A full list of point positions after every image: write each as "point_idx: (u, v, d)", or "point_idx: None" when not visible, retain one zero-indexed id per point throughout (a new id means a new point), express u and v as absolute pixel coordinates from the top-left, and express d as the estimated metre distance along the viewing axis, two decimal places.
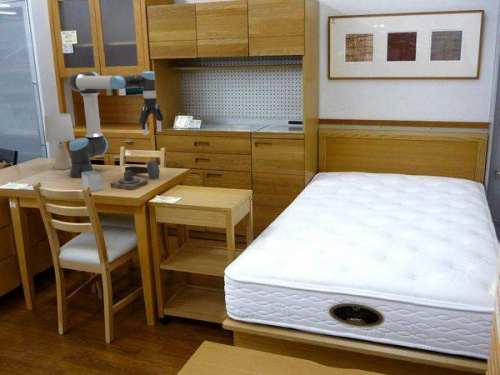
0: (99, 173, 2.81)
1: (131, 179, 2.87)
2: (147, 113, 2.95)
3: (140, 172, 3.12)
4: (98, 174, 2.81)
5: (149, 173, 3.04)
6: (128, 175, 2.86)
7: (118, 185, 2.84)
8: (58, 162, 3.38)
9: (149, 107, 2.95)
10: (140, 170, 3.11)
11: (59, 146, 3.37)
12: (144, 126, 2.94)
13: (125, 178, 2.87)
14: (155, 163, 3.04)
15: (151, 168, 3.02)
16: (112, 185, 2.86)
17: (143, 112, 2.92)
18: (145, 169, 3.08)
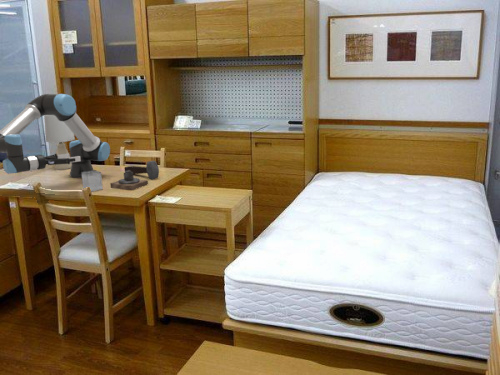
0: (99, 173, 2.81)
1: (131, 179, 2.87)
2: None
3: (140, 172, 3.12)
4: (98, 174, 2.81)
5: (148, 173, 3.04)
6: (128, 175, 2.86)
7: (118, 185, 2.84)
8: None
9: None
10: (140, 170, 3.11)
11: (59, 146, 3.37)
12: None
13: (125, 178, 2.87)
14: (154, 163, 3.04)
15: (151, 168, 3.02)
16: (112, 185, 2.86)
17: None
18: (145, 169, 3.08)
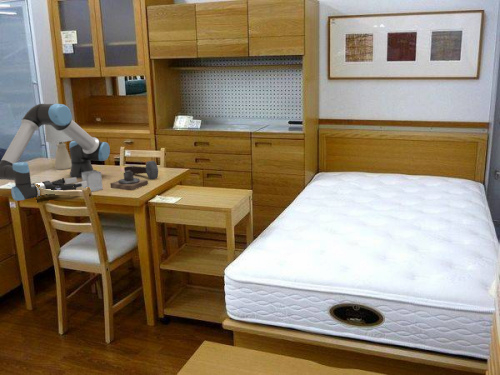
0: (99, 173, 2.81)
1: (131, 179, 2.87)
2: None
3: (139, 172, 3.12)
4: (98, 174, 2.81)
5: (148, 173, 3.04)
6: (128, 175, 2.86)
7: (118, 185, 2.84)
8: (58, 162, 3.38)
9: None
10: (139, 170, 3.11)
11: (59, 146, 3.37)
12: None
13: (125, 178, 2.87)
14: (154, 163, 3.04)
15: (150, 168, 3.02)
16: (112, 185, 2.86)
17: None
18: (144, 169, 3.08)
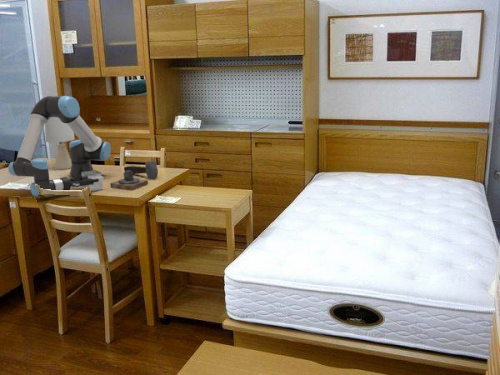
0: (99, 173, 2.81)
1: (131, 179, 2.87)
2: None
3: (139, 172, 3.12)
4: (98, 174, 2.81)
5: (147, 173, 3.04)
6: (128, 175, 2.86)
7: (118, 185, 2.84)
8: (58, 162, 3.38)
9: None
10: (139, 170, 3.12)
11: (59, 146, 3.37)
12: None
13: (125, 178, 2.87)
14: (153, 163, 3.04)
15: (150, 168, 3.02)
16: (112, 185, 2.86)
17: None
18: (144, 169, 3.08)
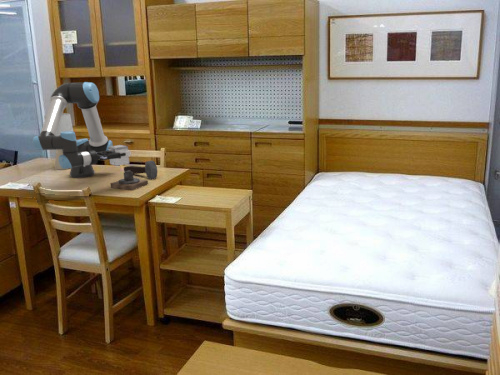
0: (126, 147, 2.81)
1: (131, 179, 2.87)
2: None
3: (138, 172, 3.12)
4: (125, 148, 2.80)
5: (147, 173, 3.05)
6: (128, 175, 2.86)
7: (118, 185, 2.84)
8: (58, 162, 3.38)
9: None
10: (138, 170, 3.12)
11: None
12: None
13: (125, 178, 2.87)
14: (153, 163, 3.04)
15: (149, 168, 3.02)
16: (112, 185, 2.86)
17: None
18: (143, 169, 3.08)
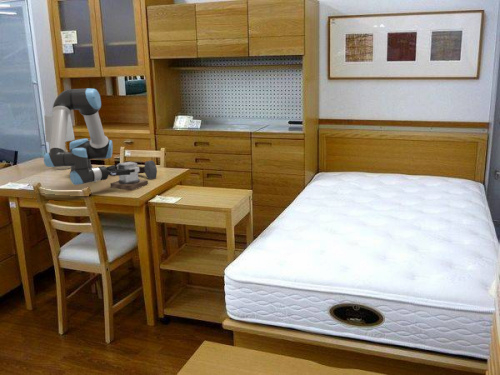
0: (135, 164, 2.85)
1: None
2: None
3: (138, 172, 3.12)
4: (134, 165, 2.85)
5: (146, 173, 3.05)
6: None
7: (118, 185, 2.84)
8: None
9: None
10: None
11: None
12: None
13: None
14: (152, 163, 3.04)
15: (149, 168, 3.02)
16: (112, 185, 2.86)
17: None
18: (143, 169, 3.09)
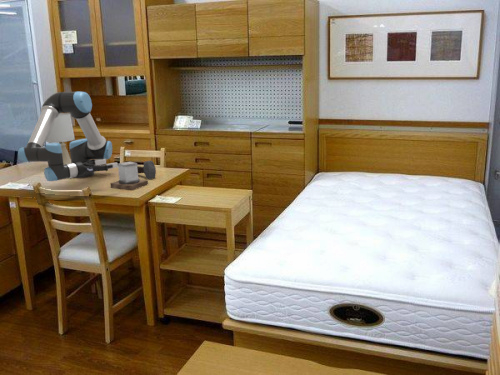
0: (135, 164, 2.85)
1: None
2: None
3: None
4: (134, 165, 2.85)
5: (145, 173, 3.05)
6: None
7: (118, 185, 2.84)
8: None
9: None
10: None
11: None
12: None
13: None
14: (151, 163, 3.04)
15: (148, 168, 3.02)
16: (112, 185, 2.86)
17: None
18: (142, 169, 3.09)
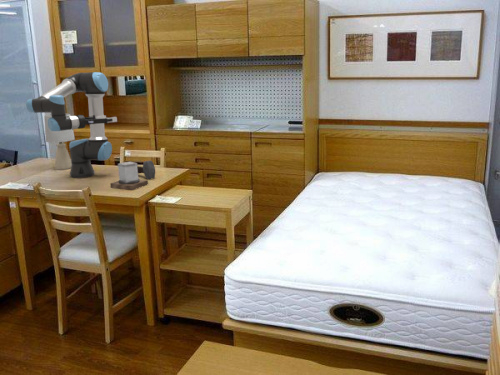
0: (135, 164, 2.85)
1: None
2: None
3: None
4: (134, 165, 2.85)
5: (145, 173, 3.05)
6: None
7: (118, 185, 2.84)
8: (58, 162, 3.38)
9: None
10: None
11: (59, 146, 3.37)
12: None
13: None
14: (151, 163, 3.04)
15: (147, 168, 3.02)
16: (112, 185, 2.86)
17: None
18: (141, 169, 3.09)
